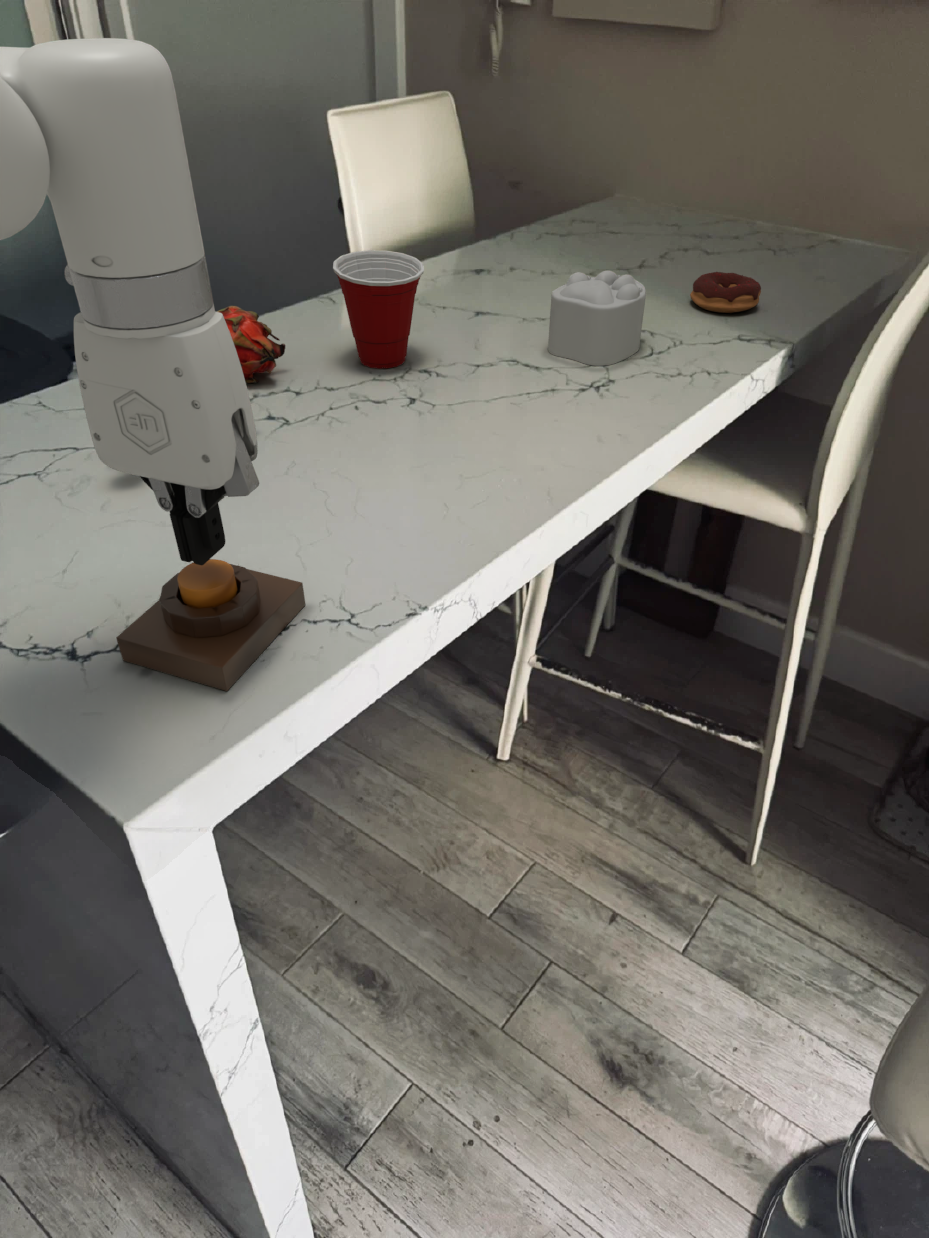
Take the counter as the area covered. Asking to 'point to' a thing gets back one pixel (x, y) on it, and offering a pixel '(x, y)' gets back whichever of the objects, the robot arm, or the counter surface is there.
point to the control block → (212, 629)
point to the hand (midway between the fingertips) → (204, 553)
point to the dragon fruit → (252, 342)
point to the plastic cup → (379, 302)
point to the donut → (725, 292)
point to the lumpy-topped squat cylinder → (596, 318)
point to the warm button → (207, 584)
